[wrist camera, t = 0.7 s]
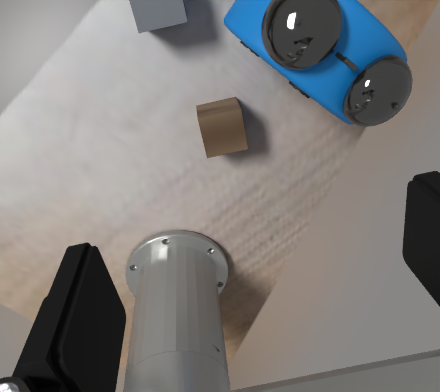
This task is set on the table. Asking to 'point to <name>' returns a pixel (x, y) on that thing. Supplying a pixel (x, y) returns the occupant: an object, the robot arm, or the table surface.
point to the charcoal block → (157, 13)
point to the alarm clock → (328, 54)
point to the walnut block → (222, 127)
